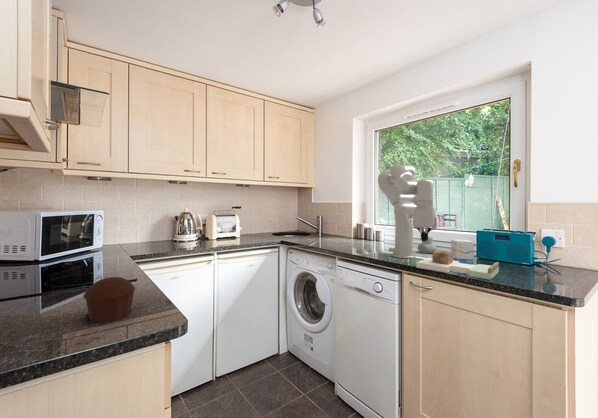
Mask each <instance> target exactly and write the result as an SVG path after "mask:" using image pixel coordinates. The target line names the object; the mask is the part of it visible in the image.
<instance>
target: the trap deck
mask: <svg viewBox="0 0 598 418" xmlns="http://www.w3.org/2000/svg"><path fill="white" fill-rule="evenodd" d="M415 263H416V264H415V268H417V269H421V270H422V269H424V270H428V271H434V272H442V273H450V272H455V273H460V274H466V275H467V276H468V277H471V278H478V279H484V280H489V281H490V280H492V279H493V278H494V277H495V276H496V275H497V274H499V272H500V271H499V270H500V266H499V265H500V262H499V261H496V262H494V263H493V264H492V265H488V264H483V263H482V264H480V263H477V264H464V263H459V261H453V263H451V264H449V265H447V264H440V263H433V262H432V257H427V258H424V259H421V260H419V261H416V262H415Z"/></svg>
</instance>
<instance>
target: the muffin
mask: <svg viewBox="0 0 598 418" xmlns="http://www.w3.org/2000/svg"><path fill="white" fill-rule="evenodd" d="M135 290H136V287H135V286H134V285H133V283H132V282H130V280H128V279H126V278H124V277H121V276H120V277H119V276H112V277H110V276H108V277H106V278H102V279H99V280H98V281H96V282H94V283H93V284H92V285H91V286H89V287H88V289H86V291H85V292H84V294H83V295H82V297H83V298H84V299H85V302H86V307H87V312H88V317H89V320H90V321H91V322H92V323H95V324H96V323H97V324H98V323H99V324H104V323H106V324H107V323H110V322H116V321H118V320H121V319H123V318H127V317H128V316H129V314H130V313H131V312H132V311H131V310H132V305H133V299H134V293H135Z"/></svg>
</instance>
